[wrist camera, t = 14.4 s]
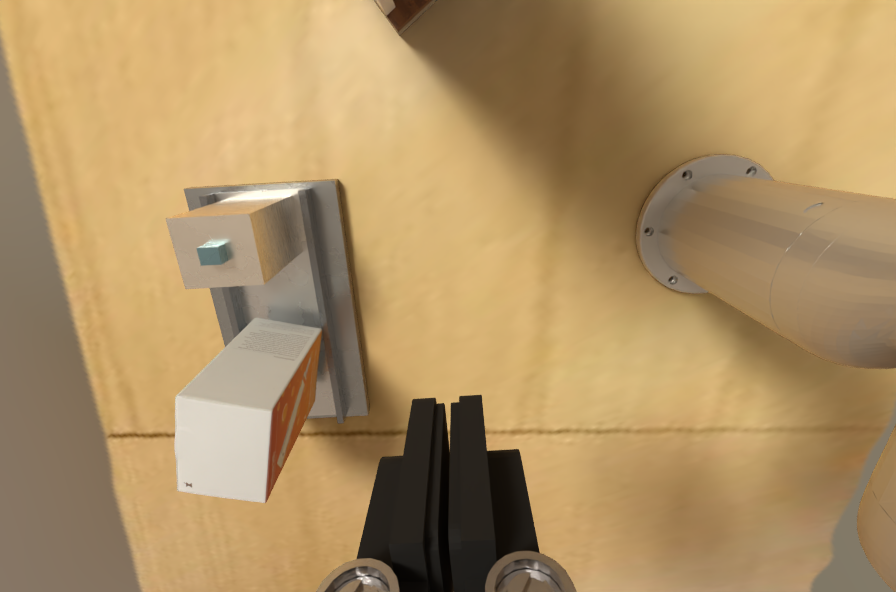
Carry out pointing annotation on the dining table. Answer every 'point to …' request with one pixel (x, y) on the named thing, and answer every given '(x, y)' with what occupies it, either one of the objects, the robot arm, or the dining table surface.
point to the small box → (246, 411)
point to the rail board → (279, 272)
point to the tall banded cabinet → (403, 11)
